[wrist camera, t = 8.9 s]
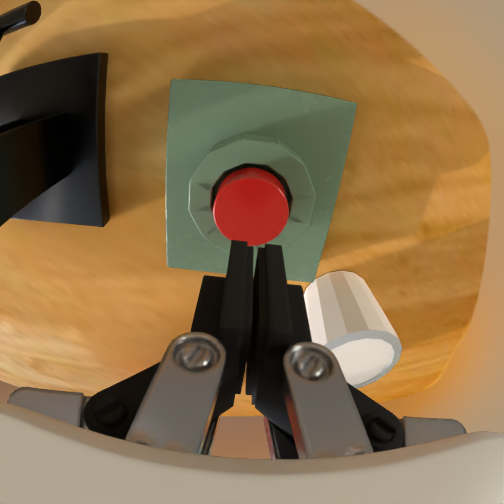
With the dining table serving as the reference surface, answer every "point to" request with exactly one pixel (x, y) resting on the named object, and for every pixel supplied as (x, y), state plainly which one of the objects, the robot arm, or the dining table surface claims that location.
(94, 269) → the dining table surface
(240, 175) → the button
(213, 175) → the button box
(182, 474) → the robot arm
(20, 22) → the lever
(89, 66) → the bracket
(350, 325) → the white cup
